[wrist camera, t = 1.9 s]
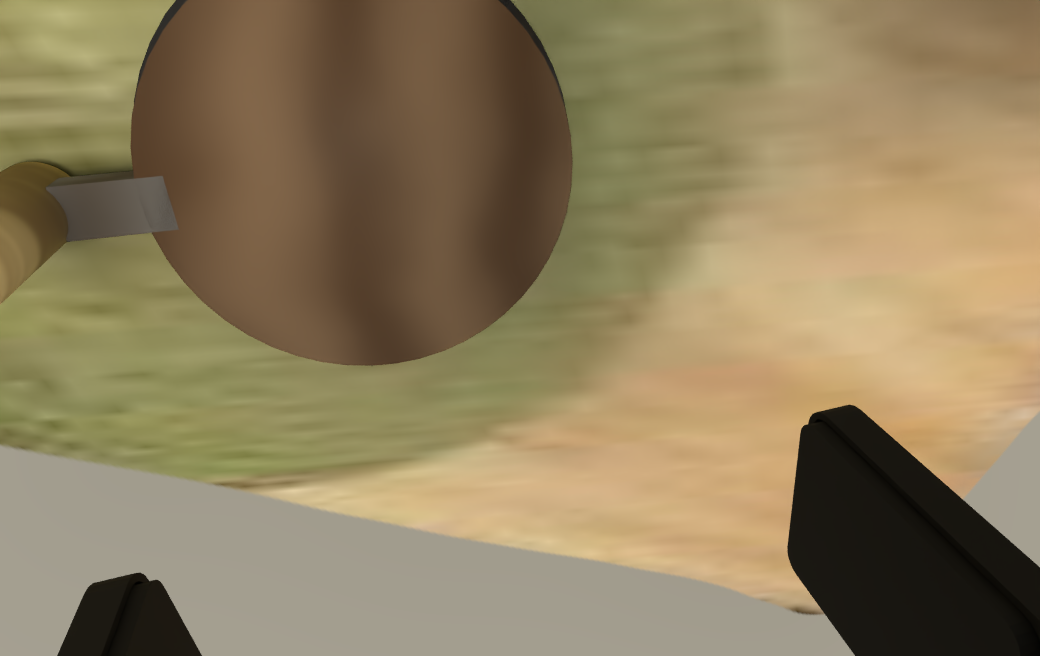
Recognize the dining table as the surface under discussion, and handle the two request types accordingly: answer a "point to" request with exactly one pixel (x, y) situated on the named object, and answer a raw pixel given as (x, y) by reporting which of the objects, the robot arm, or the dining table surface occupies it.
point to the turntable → (328, 172)
